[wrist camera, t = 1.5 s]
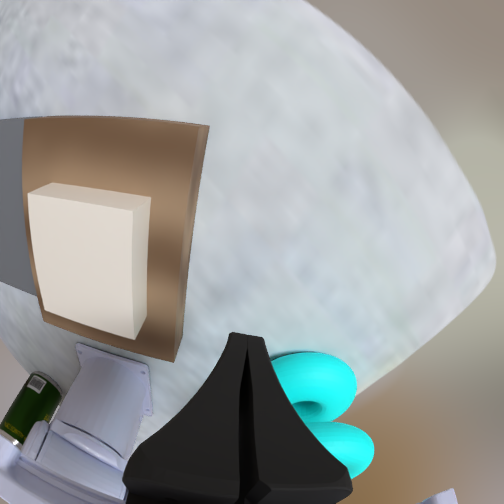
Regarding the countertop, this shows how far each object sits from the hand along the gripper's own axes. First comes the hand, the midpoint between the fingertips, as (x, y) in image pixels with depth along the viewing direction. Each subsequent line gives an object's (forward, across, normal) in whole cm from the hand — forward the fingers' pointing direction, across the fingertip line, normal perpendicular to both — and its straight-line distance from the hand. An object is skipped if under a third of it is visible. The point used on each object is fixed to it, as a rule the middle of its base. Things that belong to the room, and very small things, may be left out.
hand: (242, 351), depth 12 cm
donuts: (+9, -7, +12) cm, 16 cm away
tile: (+5, +10, 0) cm, 11 cm away
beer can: (+9, +23, +24) cm, 35 cm away
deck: (+8, +10, 0) cm, 13 cm away
